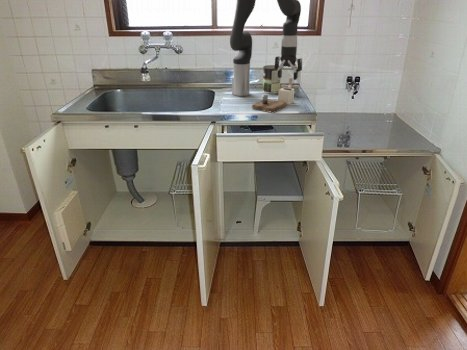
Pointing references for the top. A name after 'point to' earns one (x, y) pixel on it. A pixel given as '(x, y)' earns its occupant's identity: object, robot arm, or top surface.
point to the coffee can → (270, 80)
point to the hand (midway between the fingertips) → (287, 78)
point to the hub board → (269, 105)
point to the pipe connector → (290, 84)
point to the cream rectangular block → (286, 95)
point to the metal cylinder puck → (265, 99)
